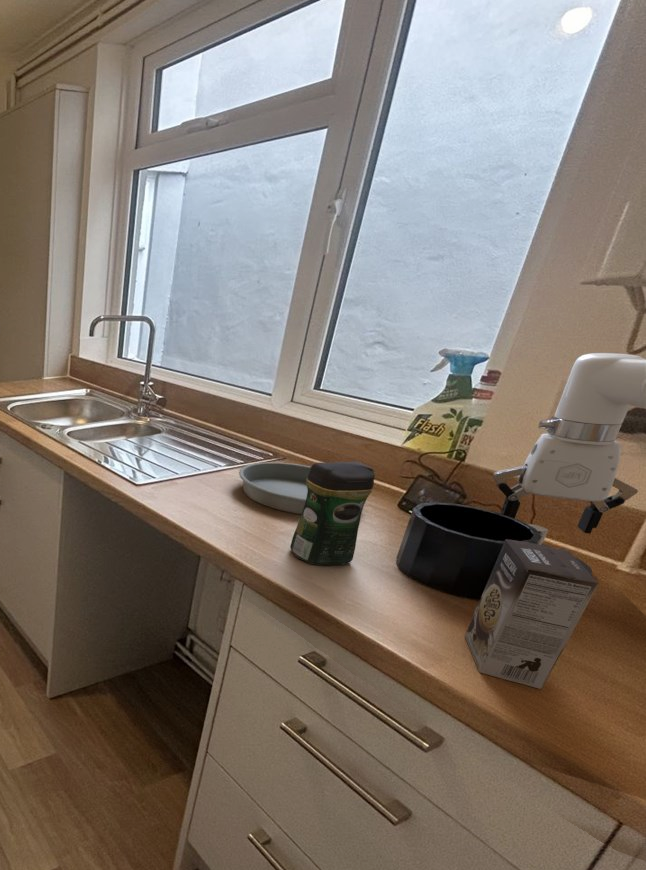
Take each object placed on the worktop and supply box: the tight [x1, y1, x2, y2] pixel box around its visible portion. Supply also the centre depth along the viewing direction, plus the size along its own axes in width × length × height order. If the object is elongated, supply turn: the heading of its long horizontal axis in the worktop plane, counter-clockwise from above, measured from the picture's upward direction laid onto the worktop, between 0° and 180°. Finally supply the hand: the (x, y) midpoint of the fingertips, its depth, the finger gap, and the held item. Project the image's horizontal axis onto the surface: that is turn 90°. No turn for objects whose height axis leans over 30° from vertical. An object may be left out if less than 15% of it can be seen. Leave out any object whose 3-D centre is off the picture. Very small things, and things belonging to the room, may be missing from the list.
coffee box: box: [464, 539, 599, 690], centre depth 68 cm, size 9×6×16 cm
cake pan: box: [238, 461, 311, 515], centre depth 123 cm, size 25×25×4 cm
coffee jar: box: [289, 461, 376, 566], centre depth 95 cm, size 10×8×19 cm
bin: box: [396, 501, 542, 601], centre depth 90 cm, size 16×16×10 cm
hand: (544, 524), depth 93 cm, fingers open, 9 cm apart
